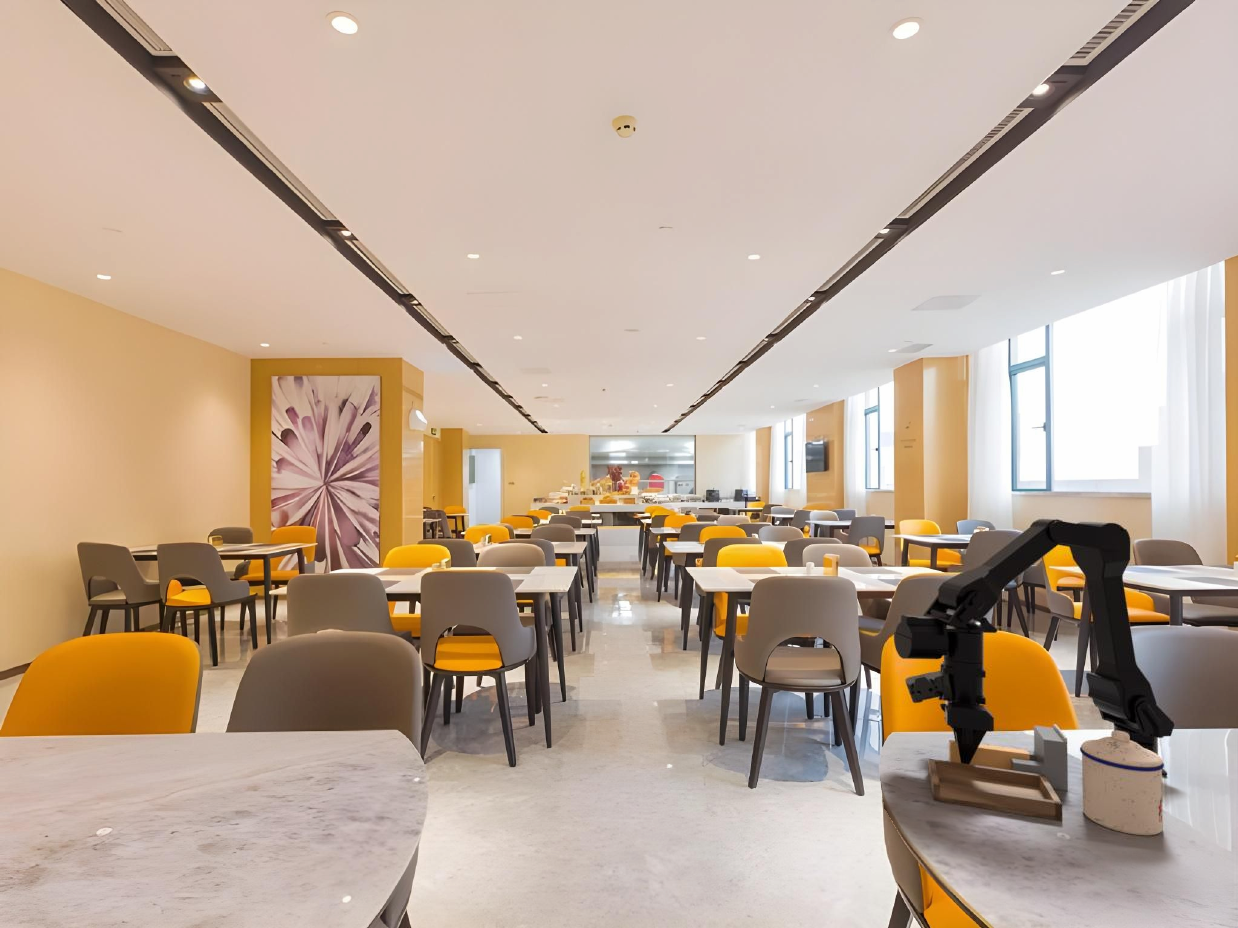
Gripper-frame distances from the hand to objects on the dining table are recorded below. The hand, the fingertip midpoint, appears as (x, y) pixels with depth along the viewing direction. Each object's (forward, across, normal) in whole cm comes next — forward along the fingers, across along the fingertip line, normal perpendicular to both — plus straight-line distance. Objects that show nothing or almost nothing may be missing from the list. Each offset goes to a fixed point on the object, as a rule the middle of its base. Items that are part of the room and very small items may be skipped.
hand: (963, 759), depth 109 cm
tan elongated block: (+2, 0, +4) cm, 4 cm away
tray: (+2, +10, +2) cm, 10 cm away
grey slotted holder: (+1, 0, +10) cm, 10 cm away
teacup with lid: (+2, +10, +18) cm, 20 cm away
